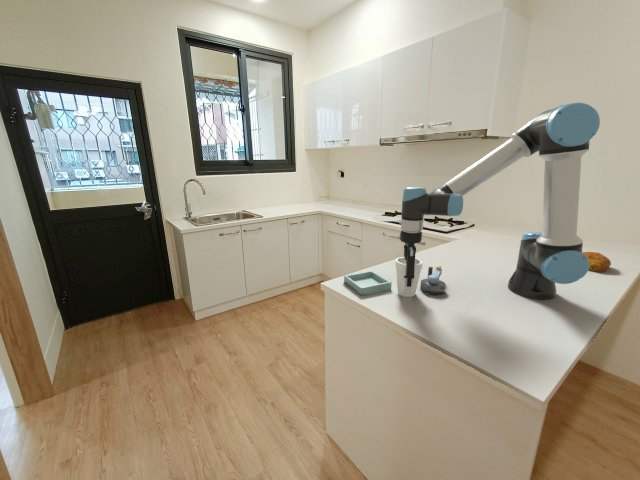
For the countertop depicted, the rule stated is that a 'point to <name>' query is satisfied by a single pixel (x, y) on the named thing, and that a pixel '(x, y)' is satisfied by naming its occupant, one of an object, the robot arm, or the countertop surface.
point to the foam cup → (402, 272)
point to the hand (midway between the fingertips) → (406, 288)
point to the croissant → (597, 261)
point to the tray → (367, 282)
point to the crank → (435, 276)
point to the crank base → (432, 286)
